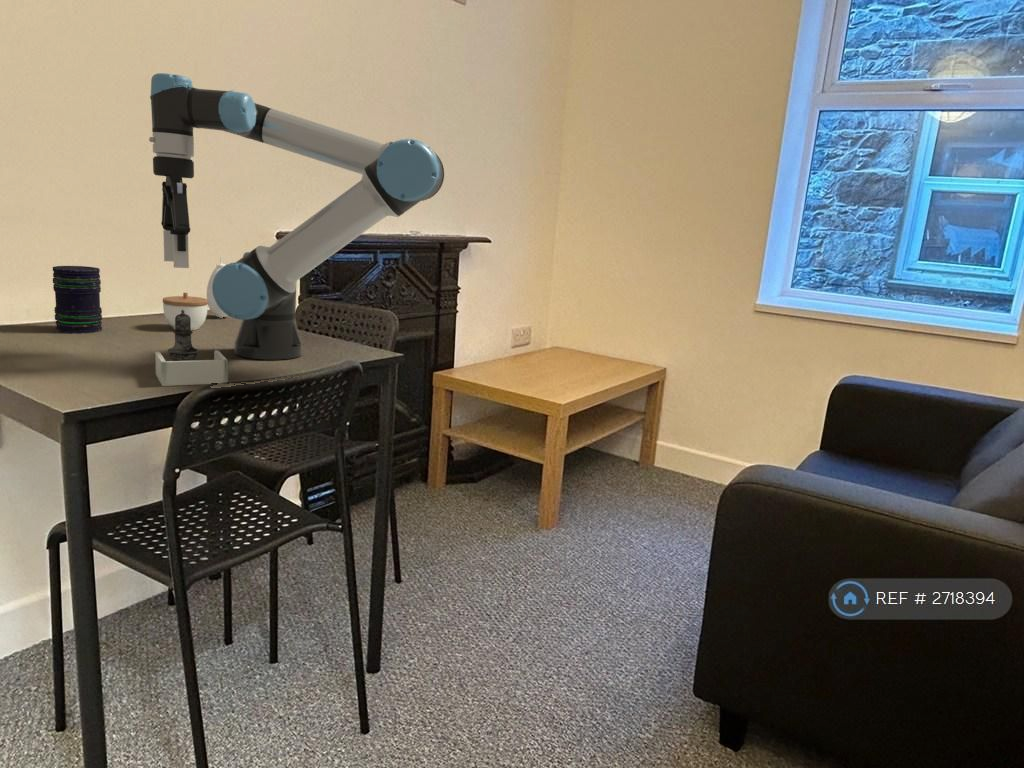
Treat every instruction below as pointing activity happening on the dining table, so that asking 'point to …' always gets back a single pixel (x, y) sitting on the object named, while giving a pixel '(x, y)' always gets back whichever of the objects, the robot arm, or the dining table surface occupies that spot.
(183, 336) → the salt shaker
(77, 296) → the storage jar
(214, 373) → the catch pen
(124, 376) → the dining table surface
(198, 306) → the lidded jar
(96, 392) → the dining table surface
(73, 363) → the dining table surface
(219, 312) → the white elongated ovoid
